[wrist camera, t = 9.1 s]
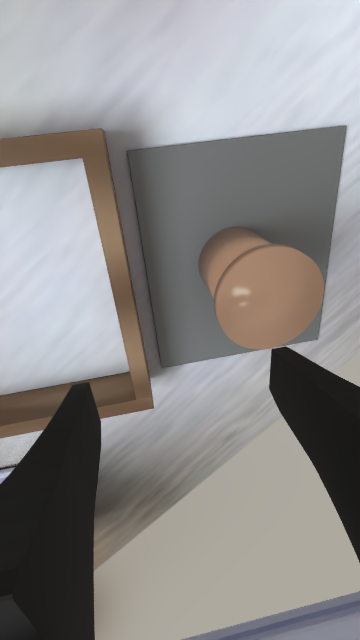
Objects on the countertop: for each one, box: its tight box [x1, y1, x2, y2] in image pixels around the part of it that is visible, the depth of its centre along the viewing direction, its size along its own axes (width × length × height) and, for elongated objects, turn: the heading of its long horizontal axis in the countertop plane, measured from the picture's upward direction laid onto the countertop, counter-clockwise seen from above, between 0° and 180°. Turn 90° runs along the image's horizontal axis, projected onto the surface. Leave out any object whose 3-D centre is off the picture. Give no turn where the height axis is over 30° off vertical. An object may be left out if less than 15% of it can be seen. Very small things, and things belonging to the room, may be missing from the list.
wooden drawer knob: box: [198, 227, 324, 349], centre depth 18 cm, size 5×5×6 cm
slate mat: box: [128, 126, 347, 368], centre depth 21 cm, size 14×12×1 cm
